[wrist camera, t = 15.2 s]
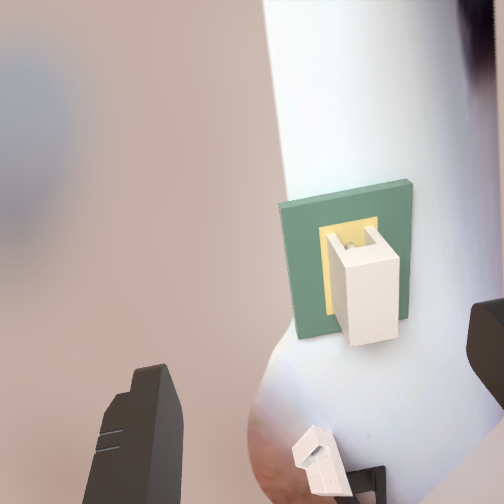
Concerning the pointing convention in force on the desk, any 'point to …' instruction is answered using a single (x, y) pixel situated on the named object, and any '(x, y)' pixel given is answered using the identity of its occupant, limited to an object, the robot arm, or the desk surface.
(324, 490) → the white wedge bracket
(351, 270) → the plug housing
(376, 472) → the phone stand
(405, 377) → the desk surface
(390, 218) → the header board
